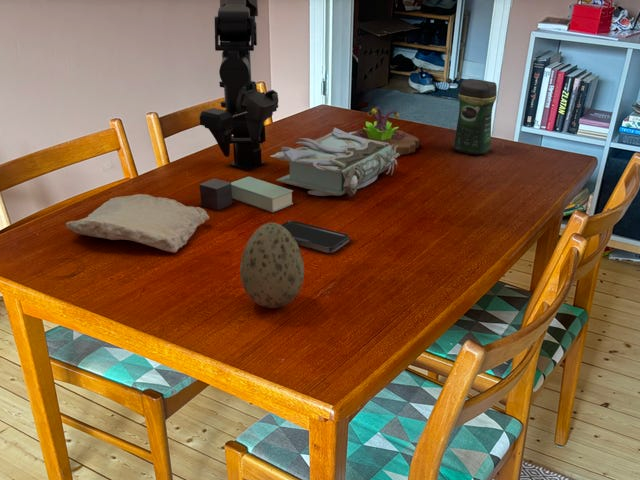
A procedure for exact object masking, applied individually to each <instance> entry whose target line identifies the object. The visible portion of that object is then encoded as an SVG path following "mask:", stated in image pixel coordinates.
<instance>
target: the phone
mask: <svg viewBox="0 0 640 480" xmlns="http://www.w3.org/2000/svg"><path fill="white" fill-rule="evenodd" d="M280 225H281V226H283V227H284V228H286V229H287V230H288V231H289V232H290V234H291V235H292V236H293V238H294V239H295V241H296V242H297V244H298V246H301V247H304V248H307V249H311V250H314V251H318V252H322V253H326V254H334V253H335V252H337V251H339V250H340V249H341V248H343V247H344V246H345V245H347V244H349V243H350V234H347V233H343V232H339V231H335V230H332V229H328V228H324V227H320V226H316V225H311V224H307V223H304V222H300V221H296V220H287V221H286V222H284V223H282V224H280Z"/></svg>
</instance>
